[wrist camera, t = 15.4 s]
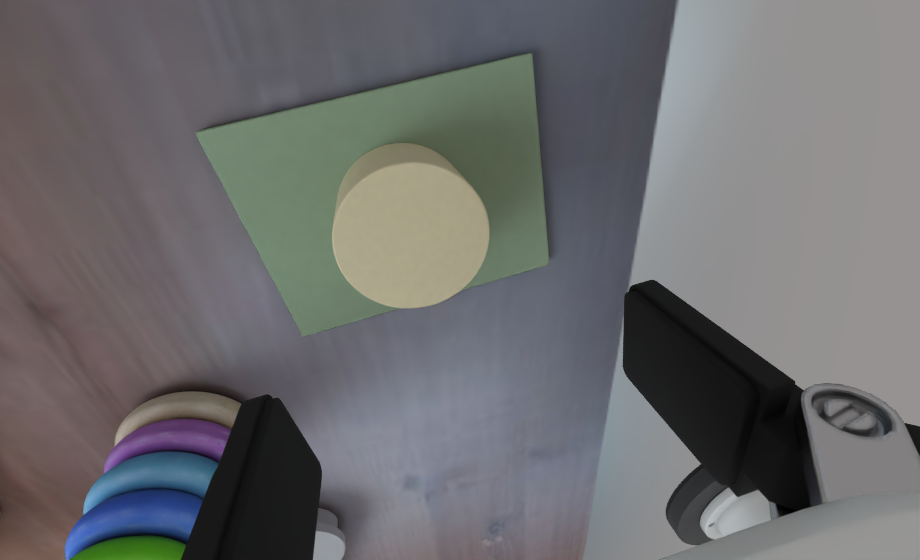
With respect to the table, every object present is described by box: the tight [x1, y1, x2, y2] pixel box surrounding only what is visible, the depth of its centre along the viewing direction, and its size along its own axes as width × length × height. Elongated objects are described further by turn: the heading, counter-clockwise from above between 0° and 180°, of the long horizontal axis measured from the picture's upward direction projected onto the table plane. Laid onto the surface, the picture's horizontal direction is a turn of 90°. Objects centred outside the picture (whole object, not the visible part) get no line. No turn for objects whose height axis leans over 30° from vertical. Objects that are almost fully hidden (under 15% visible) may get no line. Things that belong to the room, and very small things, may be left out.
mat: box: [196, 53, 549, 337], centre depth 21 cm, size 16×12×1 cm
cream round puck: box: [332, 143, 490, 308], centre depth 19 cm, size 7×7×4 cm
